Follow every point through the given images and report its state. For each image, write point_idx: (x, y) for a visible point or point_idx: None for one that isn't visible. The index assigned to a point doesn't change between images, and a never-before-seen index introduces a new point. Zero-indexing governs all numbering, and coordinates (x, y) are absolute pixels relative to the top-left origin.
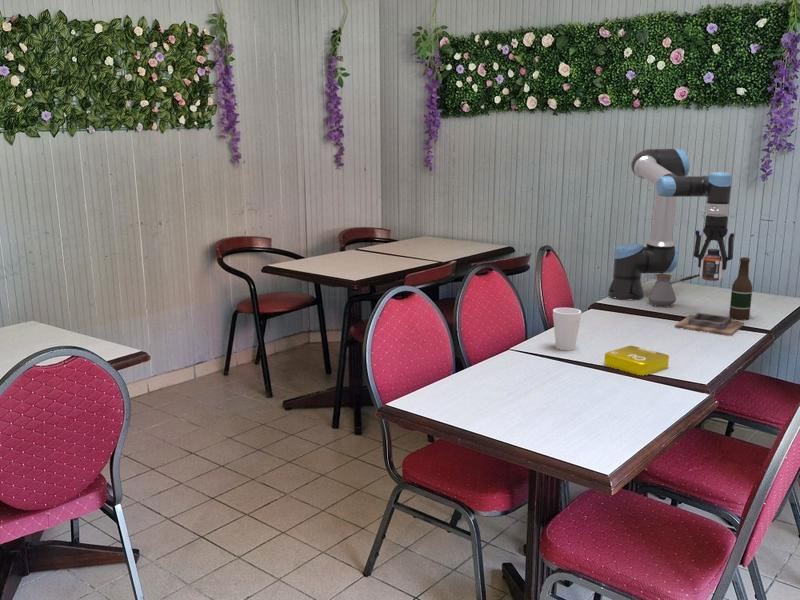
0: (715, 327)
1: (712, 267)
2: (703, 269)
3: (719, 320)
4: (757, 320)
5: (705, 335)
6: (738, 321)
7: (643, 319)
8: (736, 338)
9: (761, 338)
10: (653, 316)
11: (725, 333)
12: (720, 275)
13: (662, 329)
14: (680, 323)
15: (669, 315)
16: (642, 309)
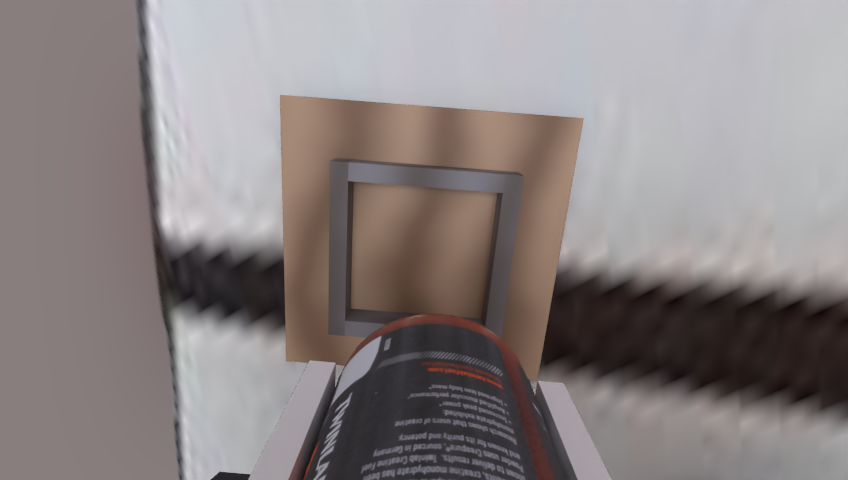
0: (374, 161)
1: (399, 433)
2: (555, 454)
3: (386, 314)
4: (262, 451)
5: (402, 33)
6: (311, 360)
7: (753, 216)
8: (250, 59)
9: (152, 131)
10: (704, 305)
11: (311, 97)
12: (301, 388)
13: (637, 40)
14: (559, 174)
15: (629, 361)
16: (765, 413)
